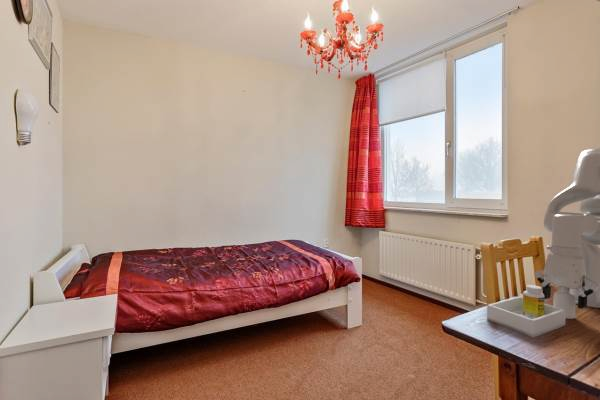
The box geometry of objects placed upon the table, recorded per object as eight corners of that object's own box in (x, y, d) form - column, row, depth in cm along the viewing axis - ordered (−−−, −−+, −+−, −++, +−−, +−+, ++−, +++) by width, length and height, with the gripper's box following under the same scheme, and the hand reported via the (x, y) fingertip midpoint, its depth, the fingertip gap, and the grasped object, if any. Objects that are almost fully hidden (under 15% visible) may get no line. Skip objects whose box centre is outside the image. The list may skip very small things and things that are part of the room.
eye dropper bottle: (554, 312, 109) (555, 277, 108) (576, 317, 105) (577, 281, 104) (551, 315, 106) (552, 280, 106) (573, 321, 102) (574, 284, 101)
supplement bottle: (539, 322, 99) (540, 290, 98) (519, 316, 104) (520, 285, 103) (546, 318, 102) (547, 287, 102) (526, 312, 107) (527, 282, 106)
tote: (518, 310, 111) (519, 296, 111) (565, 325, 99) (565, 309, 98) (487, 319, 103) (487, 304, 103) (533, 337, 91) (533, 320, 91)
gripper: (530, 247, 110) (528, 296, 111) (593, 257, 95) (591, 314, 96) (542, 246, 114) (540, 293, 114) (605, 255, 98) (602, 310, 99)
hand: (563, 302), depth 105 cm, fingers open, 9 cm apart
